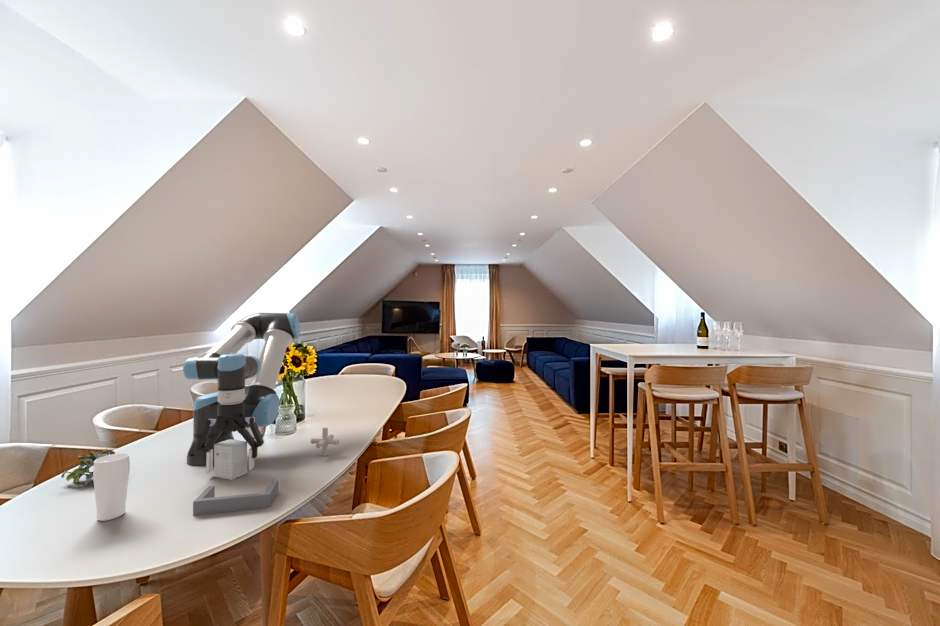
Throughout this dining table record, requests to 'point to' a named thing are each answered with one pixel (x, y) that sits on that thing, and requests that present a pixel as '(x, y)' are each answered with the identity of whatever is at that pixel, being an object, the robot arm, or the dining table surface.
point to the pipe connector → (325, 441)
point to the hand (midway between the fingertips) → (230, 469)
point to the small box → (230, 459)
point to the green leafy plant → (88, 462)
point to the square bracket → (233, 501)
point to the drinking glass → (111, 485)
